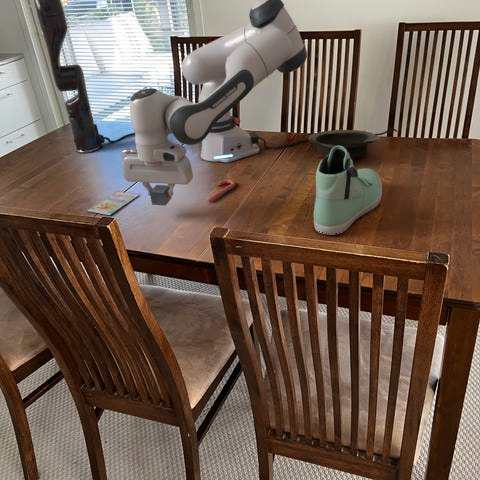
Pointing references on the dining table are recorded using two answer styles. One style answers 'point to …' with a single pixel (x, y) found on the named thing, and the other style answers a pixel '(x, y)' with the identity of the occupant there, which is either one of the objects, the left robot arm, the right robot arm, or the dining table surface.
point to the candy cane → (222, 189)
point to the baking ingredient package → (113, 203)
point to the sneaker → (343, 192)
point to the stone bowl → (343, 141)
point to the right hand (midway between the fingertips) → (161, 195)
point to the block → (159, 195)
